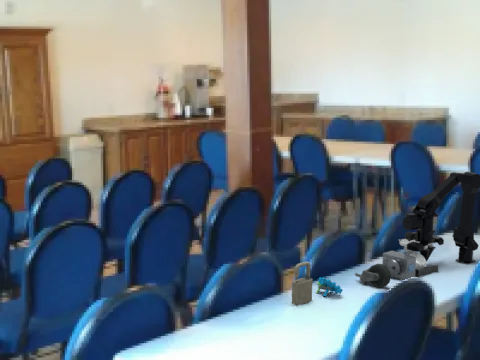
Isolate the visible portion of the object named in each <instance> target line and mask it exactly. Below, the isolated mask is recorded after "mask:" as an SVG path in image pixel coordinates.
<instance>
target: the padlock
mask: <svg viewBox="0 0 480 360" xmlns="http://www.w3.org/2000/svg"><path fill="white" fill-rule="evenodd" d="M301 267H306V268H305V269H306V270H305V273H306V274H305V275H306V276H305V277H301V278H299V276H300V275H299V274H300V273H299V272H300V268H301ZM294 278H295V280H293V281H292V282H291V304H293V305H294V306H299V305H305V304H307V303H310V302H312V301H313V278H312V277H311V262H309V261H303V262H300V263H297V264H296V265H295V267H294Z"/></svg>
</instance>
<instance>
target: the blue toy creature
mask: <svg viewBox="0 0 480 360" xmlns="http://www.w3.org/2000/svg"><path fill="white" fill-rule="evenodd" d="M316 285H317V288H318V289H317V290H316V292H315V294H317V293H318V294H319V292H320V290H323V291H324V292H323V295H322V296H323V297H324V296H325V297H324V298H326V297H327V295H328V293H329V292H331V291H332V292H331V293H335V294H336V293H338V294H340V295H341V294H342V292H343V289H342V288H341V286H340V285H337V282H335V281H331V279H329V278H326V277H321V276H320V277H319V278H318V280H317V283H316Z"/></svg>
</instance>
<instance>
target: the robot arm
mask: <svg viewBox="0 0 480 360" xmlns="http://www.w3.org/2000/svg"><path fill="white" fill-rule="evenodd" d="M459 184H460V187H461V189H462V192H463V193H462V200H461V210H460V217H459V224H458V225H457V227H454V228H453V231H452V232H453V233H452V237H453V242H454V244H455V246H456V247H458V248H459V249H458V258H456V259H455V262H458V263H462V264H466V265H469V264H472V263H475V262H476V261H477V260H476V259H474V252H475V251H478V248H479V244H478V242H477V241H476V240H475V232H474V229H473V227H472V223H473V216H474V210H475V209H474V208H475V201H476V200H475V199H476V194H477V192H478V191H479V190H480V174H479V173H476V172H471V171H465V172H451V173H450V174H449V176H448V177H447V178H445V180H443V182H441V183H440V184H439V185H438V186H437V187H436V188H435V189H434V190H433V191H431V192H429V193H427V194H425V195H423V196H422V197H420V198H419V199H418V201H417V203H416V205H415V206H414V209H412V212H411V213H406V215H405V217H404V218H403V220H402V226H403V229H405V231H407V232H405V234H404V239H406V240H408V241H412V240H415V241H417V242H414V241H413V242H410V243H408V244H407V249H408V250H412V251H415V252H417V253H419V254H421V255H423V257H424V258H425V260H426V262H427V263H428V260H429V258H430V257H431V255H432V254H433V252H434V250H435V249H436V246H434V244H436V243H437V244H438V245H439V246H442V245H444V244H445V243H444V241H445V240H444V238H443V237H442V236H437V235H434V233H436V229H434V220H435V219H434V218H438V217H439V215H438V214H437V213H436V211H437V209H438V208H439V207H440V205H441V201H442V200H443V199H444V198H445V197H446V196H447V195H448V194H449V193H450V192H451V191H452V190H454V189H455V187H456V186H458V185H459ZM412 230H413V231H414V230H415V232H412ZM418 242H419V243H418Z"/></svg>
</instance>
